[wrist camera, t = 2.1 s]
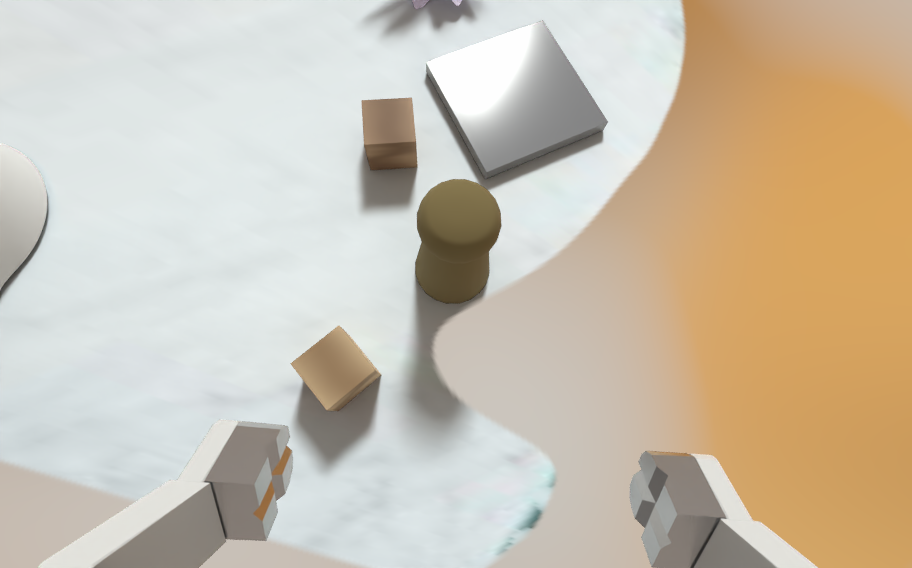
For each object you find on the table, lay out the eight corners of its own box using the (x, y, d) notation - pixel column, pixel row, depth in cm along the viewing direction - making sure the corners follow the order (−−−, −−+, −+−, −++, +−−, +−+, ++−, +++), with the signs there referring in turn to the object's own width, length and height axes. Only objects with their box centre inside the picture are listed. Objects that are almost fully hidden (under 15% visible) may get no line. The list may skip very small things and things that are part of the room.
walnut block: (370, 170, 39) (364, 144, 36) (368, 130, 41) (361, 100, 37) (417, 167, 40) (415, 141, 36) (413, 127, 41) (411, 97, 37)
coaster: (484, 179, 40) (486, 172, 38) (426, 71, 42) (426, 62, 41) (603, 130, 42) (608, 121, 40) (539, 30, 44) (542, 20, 43)
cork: (402, 252, 37) (390, 188, 27) (467, 221, 39) (480, 147, 28) (436, 317, 36) (438, 276, 26) (503, 282, 37) (531, 230, 27)
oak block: (338, 411, 34) (326, 410, 30) (306, 369, 35) (290, 363, 31) (381, 375, 35) (375, 370, 31) (348, 335, 36) (338, 325, 32)
